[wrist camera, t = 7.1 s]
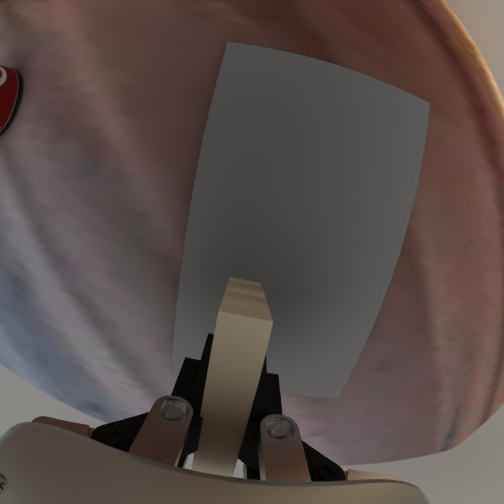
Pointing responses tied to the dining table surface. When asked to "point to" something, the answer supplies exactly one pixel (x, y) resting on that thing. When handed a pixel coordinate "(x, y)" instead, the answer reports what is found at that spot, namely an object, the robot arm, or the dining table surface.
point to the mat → (300, 209)
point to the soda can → (7, 94)
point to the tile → (232, 375)
